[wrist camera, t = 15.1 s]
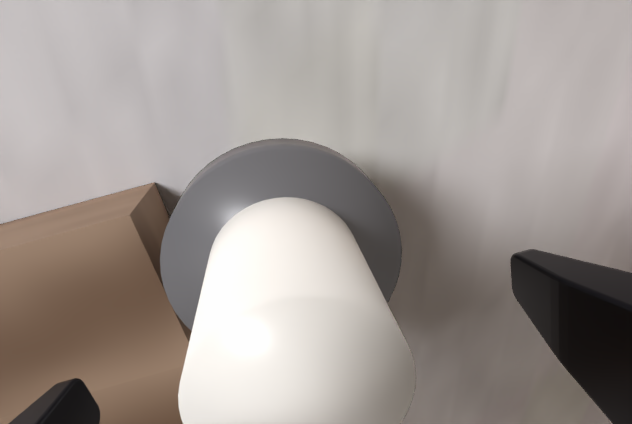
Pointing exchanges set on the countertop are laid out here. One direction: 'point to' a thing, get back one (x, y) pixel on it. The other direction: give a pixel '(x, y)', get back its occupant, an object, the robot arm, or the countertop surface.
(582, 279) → the robot arm
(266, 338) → the plug
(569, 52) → the countertop surface
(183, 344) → the socket block
